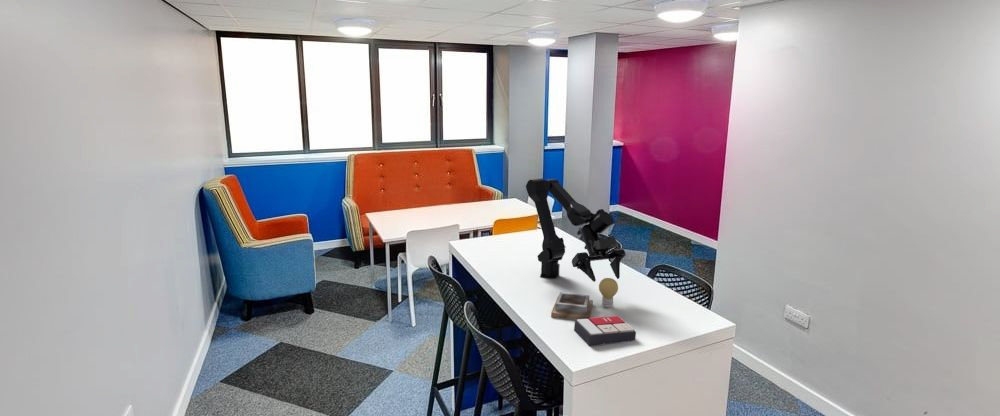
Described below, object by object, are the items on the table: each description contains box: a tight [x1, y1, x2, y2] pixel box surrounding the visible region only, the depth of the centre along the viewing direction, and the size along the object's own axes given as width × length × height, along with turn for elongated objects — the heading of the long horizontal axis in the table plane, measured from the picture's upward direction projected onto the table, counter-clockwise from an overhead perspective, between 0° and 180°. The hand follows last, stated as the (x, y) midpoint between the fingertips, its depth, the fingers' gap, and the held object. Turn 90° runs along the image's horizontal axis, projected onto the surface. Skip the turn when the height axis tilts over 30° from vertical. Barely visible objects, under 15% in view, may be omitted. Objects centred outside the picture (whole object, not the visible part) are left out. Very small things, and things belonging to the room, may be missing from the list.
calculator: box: [573, 315, 637, 347], centre depth 155 cm, size 11×4×15 cm
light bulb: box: [598, 277, 619, 309], centre depth 175 cm, size 6×6×10 cm
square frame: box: [550, 291, 594, 321], centre depth 172 cm, size 12×14×4 cm
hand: (606, 279), depth 176 cm, fingers open, 9 cm apart
